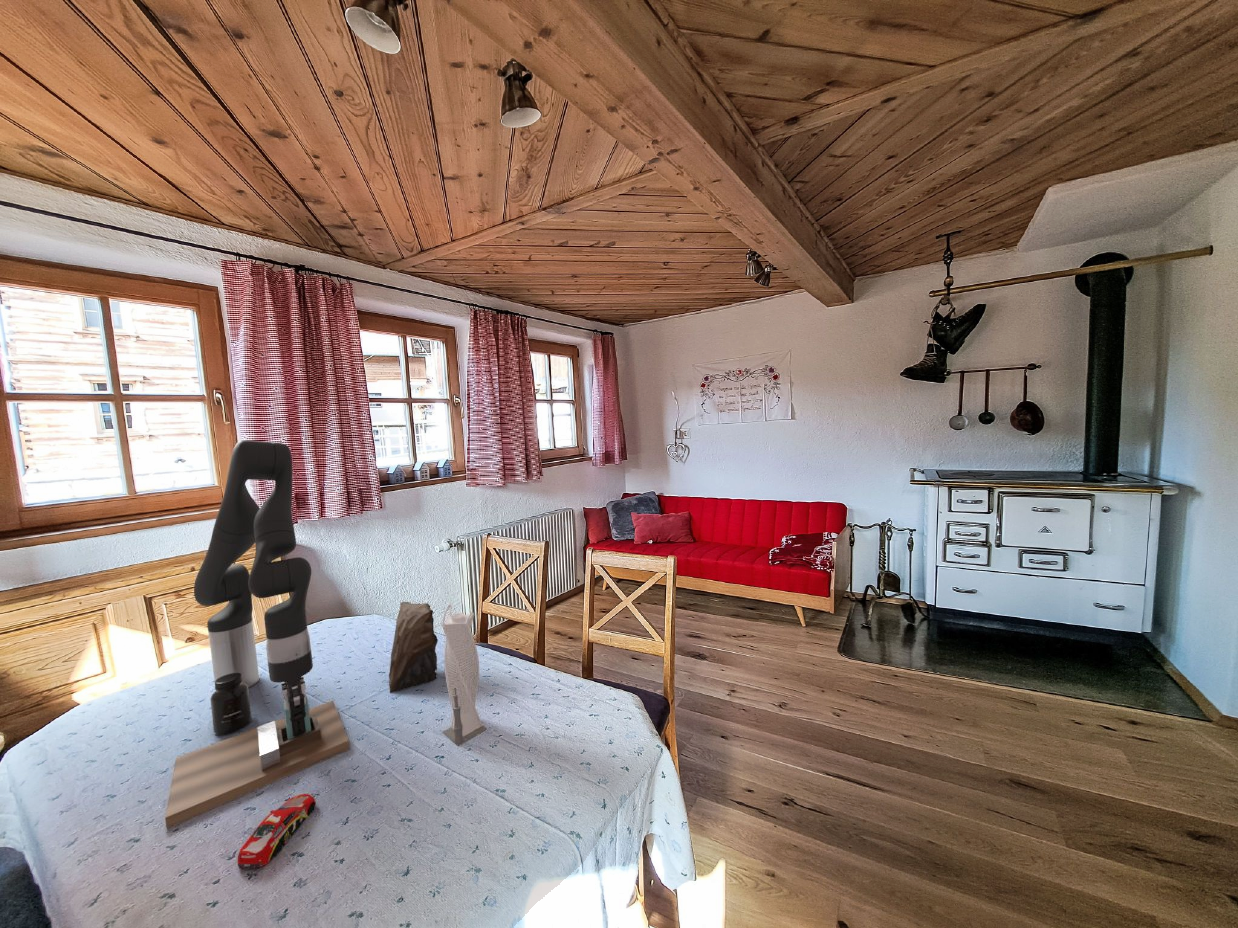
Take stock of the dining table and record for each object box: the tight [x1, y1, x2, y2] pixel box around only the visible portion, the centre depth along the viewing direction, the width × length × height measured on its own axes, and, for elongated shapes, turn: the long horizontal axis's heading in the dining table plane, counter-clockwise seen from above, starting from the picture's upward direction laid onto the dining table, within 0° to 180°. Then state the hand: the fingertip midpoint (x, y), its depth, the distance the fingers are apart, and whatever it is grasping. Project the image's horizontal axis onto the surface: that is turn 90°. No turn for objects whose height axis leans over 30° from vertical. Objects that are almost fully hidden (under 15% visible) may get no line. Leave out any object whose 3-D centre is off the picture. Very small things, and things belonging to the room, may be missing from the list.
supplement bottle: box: [210, 673, 252, 736], centre depth 107 cm, size 7×7×12 cm
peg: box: [282, 692, 311, 740], centre depth 98 cm, size 4×4×8 cm
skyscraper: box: [441, 604, 488, 747], centre depth 101 cm, size 8×8×28 cm
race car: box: [237, 793, 317, 869], centre depth 77 cm, size 13×5×4 cm, turn 177°
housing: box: [164, 700, 350, 829], centre depth 96 cm, size 20×28×4 cm
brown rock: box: [388, 601, 439, 694], centre depth 124 cm, size 13×13×20 cm
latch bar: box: [256, 720, 281, 770], centre depth 95 cm, size 12×3×3 cm, turn 40°
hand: (298, 728), depth 98 cm, fingers closed on peg, 4 cm apart
